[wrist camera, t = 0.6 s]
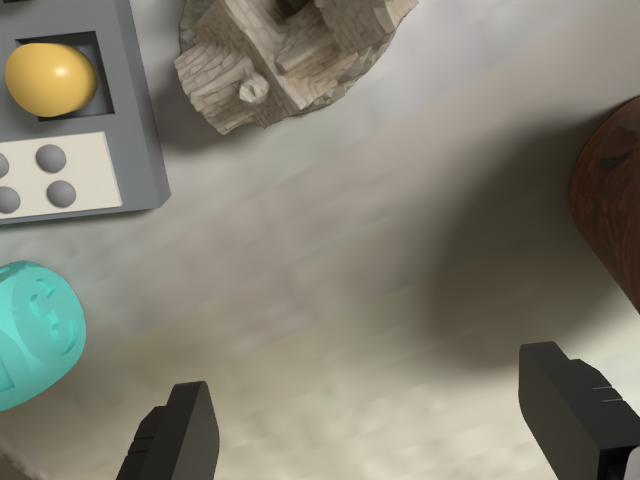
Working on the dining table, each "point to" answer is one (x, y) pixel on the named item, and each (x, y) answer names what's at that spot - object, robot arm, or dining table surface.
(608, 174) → the brown tapered round container
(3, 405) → the decorative dice
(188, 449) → the robot arm
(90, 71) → the amber button
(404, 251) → the dining table surface
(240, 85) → the ceramic cottage
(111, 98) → the button board
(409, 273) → the dining table surface
